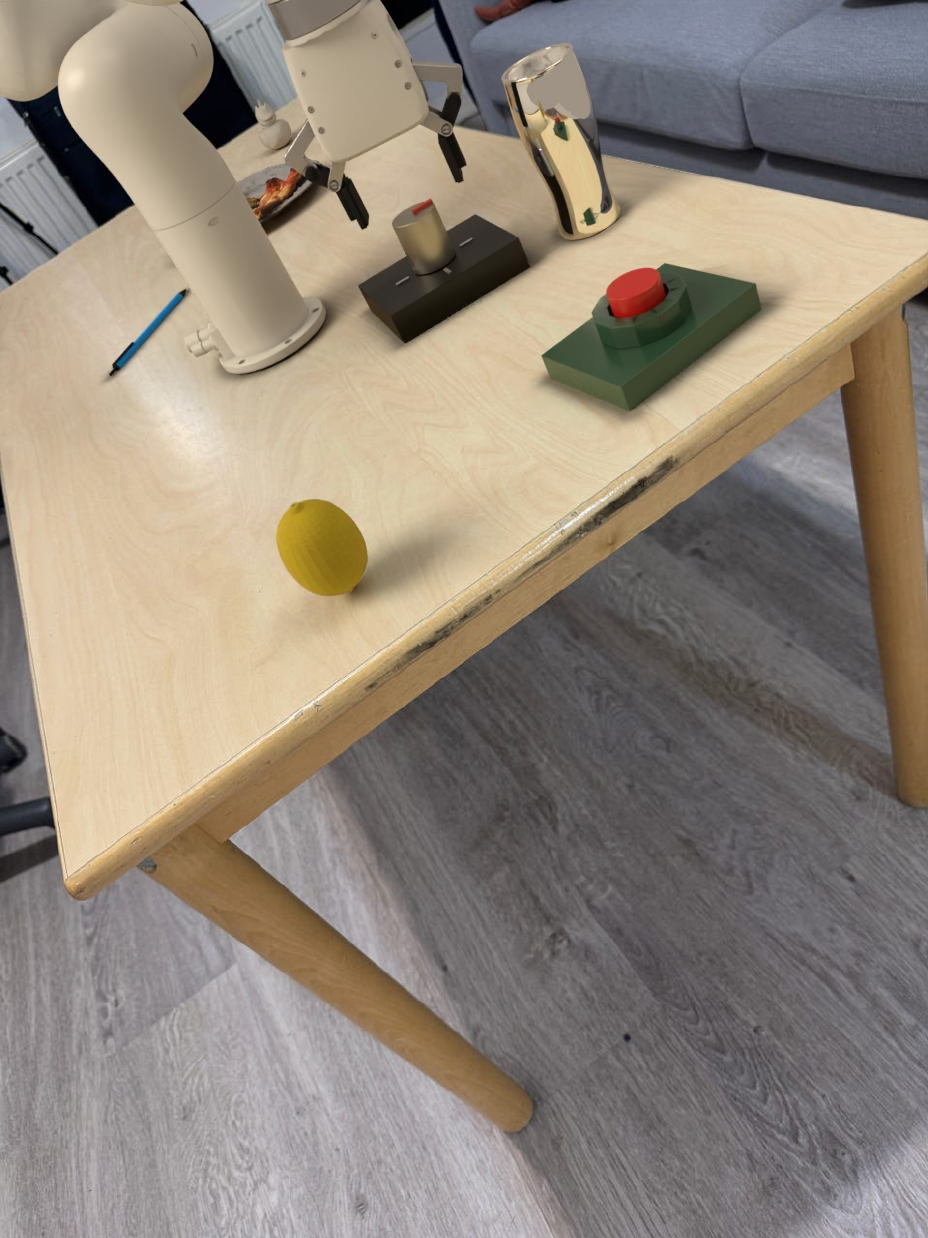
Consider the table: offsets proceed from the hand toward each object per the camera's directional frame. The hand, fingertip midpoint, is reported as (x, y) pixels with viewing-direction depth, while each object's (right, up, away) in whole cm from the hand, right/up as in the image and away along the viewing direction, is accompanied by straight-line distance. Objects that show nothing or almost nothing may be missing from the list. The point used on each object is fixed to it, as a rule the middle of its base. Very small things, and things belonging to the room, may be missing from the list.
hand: (412, 200), depth 91 cm
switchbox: (+19, -18, -16) cm, 31 cm away
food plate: (-26, +19, +51) cm, 61 cm away
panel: (+3, -6, +6) cm, 9 cm away
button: (+18, -15, -18) cm, 30 cm away
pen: (-35, -2, +34) cm, 49 cm away
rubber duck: (-26, +40, +73) cm, 87 cm away
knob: (+2, -4, +4) cm, 6 cm away
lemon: (-3, -37, -22) cm, 43 cm away
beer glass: (+17, -1, +3) cm, 17 cm away
